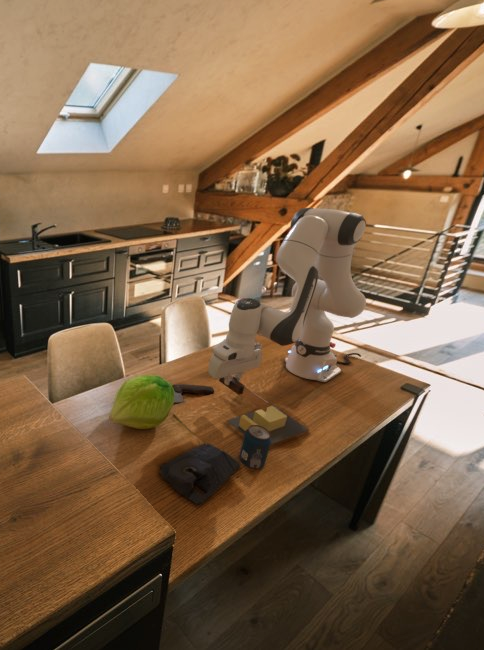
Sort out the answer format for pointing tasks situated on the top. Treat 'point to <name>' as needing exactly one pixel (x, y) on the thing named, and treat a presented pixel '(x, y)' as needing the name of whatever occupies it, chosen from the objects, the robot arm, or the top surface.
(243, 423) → the butter slice
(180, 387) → the cleaver
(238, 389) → the knife
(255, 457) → the soda can
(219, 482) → the folded black cloth
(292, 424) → the butter board
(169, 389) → the lettuce
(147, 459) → the top surface
